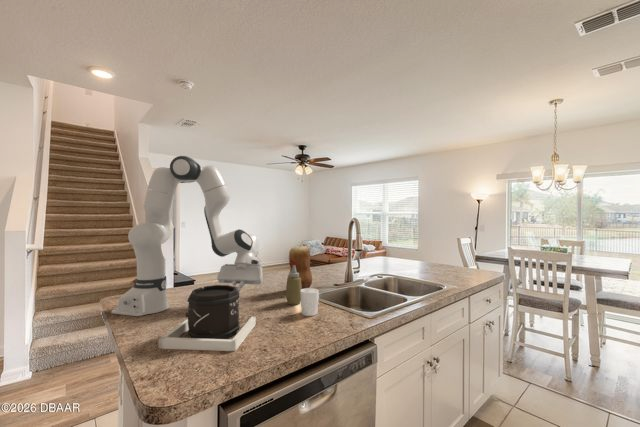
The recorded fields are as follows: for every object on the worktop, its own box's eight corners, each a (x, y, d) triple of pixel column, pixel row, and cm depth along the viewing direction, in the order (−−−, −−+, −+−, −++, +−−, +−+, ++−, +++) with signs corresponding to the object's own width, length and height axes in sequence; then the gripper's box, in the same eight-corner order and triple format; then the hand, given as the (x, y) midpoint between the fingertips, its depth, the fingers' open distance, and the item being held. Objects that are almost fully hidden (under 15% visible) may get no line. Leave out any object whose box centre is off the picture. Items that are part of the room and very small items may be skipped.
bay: (158, 348, 96) (158, 339, 96) (193, 322, 118) (193, 314, 118) (235, 351, 94) (235, 341, 94) (255, 324, 116) (255, 316, 116)
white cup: (321, 312, 131) (321, 289, 131) (313, 317, 124) (313, 293, 124) (305, 309, 134) (305, 287, 134) (297, 315, 127) (297, 291, 127)
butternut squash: (282, 291, 165) (282, 245, 165) (301, 287, 174) (301, 244, 174) (298, 296, 155) (299, 248, 155) (317, 291, 164) (317, 246, 164)
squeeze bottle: (305, 303, 144) (306, 265, 144) (293, 306, 138) (293, 267, 138) (294, 299, 149) (294, 263, 149) (281, 303, 143) (282, 265, 143)
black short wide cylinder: (189, 327, 113) (189, 285, 113) (238, 322, 118) (238, 282, 118) (181, 348, 96) (181, 299, 96) (239, 341, 101) (239, 295, 101)
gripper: (220, 260, 140) (211, 286, 130) (263, 261, 138) (257, 288, 129) (224, 268, 144) (215, 293, 135) (265, 269, 143) (259, 295, 133)
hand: (236, 291), depth 132 cm, fingers closed
